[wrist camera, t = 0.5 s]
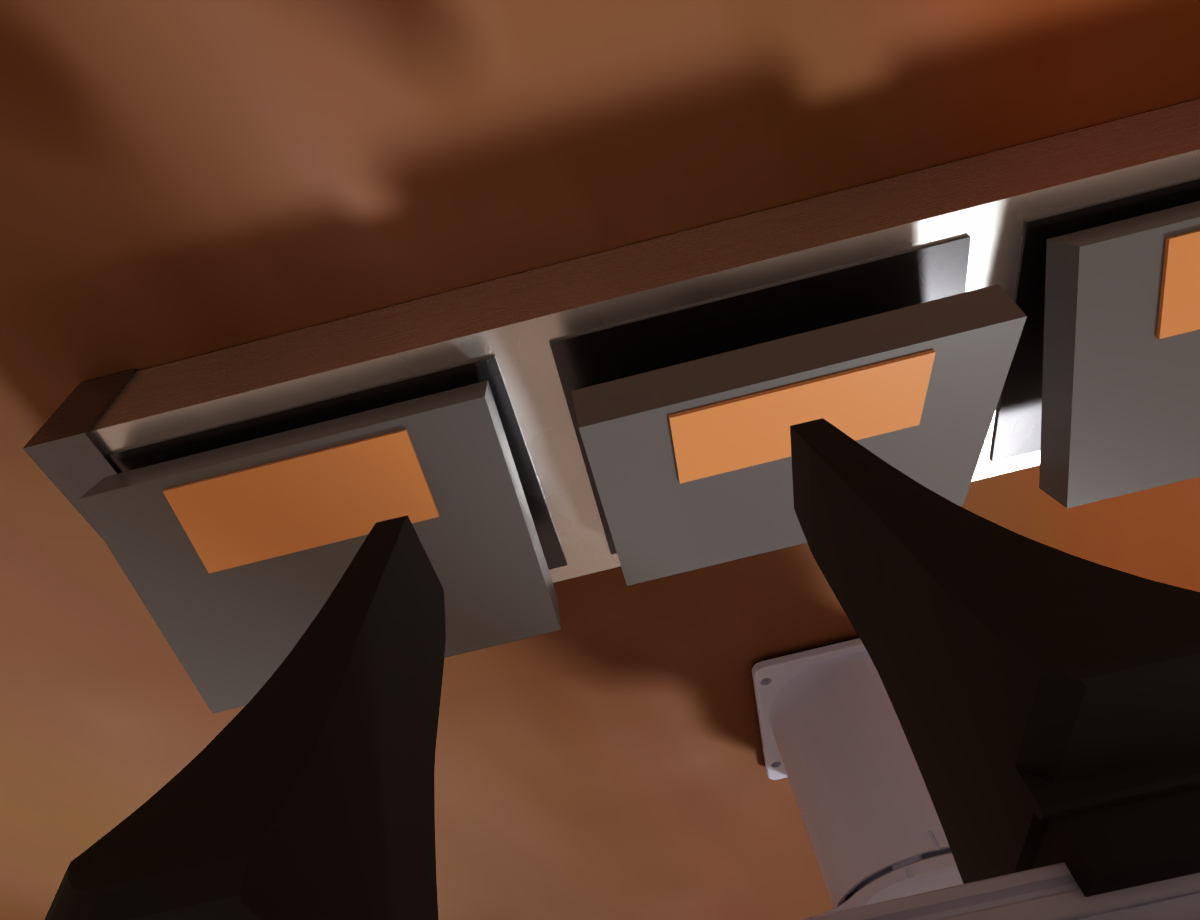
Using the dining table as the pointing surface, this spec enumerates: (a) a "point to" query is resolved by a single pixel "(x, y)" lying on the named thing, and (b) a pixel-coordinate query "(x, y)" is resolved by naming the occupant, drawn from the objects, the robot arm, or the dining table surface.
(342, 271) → the dining table surface
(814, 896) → the dining table surface
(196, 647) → the panel
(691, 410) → the rocker
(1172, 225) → the grey rectangular frame
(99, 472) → the grey switch panel
